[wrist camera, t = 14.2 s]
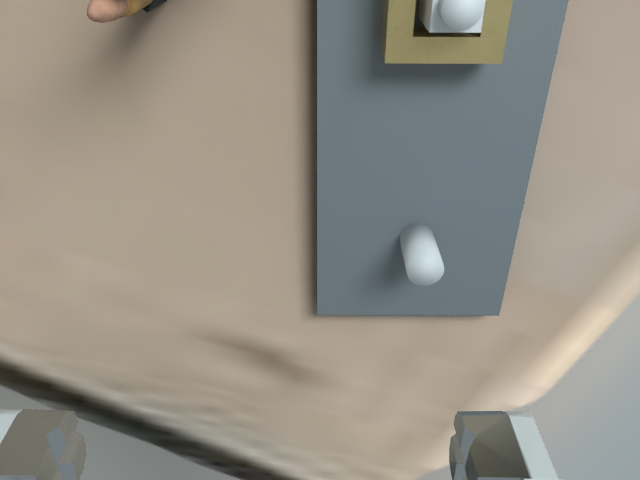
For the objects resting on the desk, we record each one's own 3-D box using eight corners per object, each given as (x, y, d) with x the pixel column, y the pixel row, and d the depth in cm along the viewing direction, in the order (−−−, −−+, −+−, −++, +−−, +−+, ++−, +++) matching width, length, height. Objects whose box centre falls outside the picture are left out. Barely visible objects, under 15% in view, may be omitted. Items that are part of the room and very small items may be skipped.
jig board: (317, 303, 45) (316, 361, 39) (317, -211, 28) (316, -236, 22) (493, 303, 45) (518, 361, 39) (601, -210, 28) (671, -235, 22)
